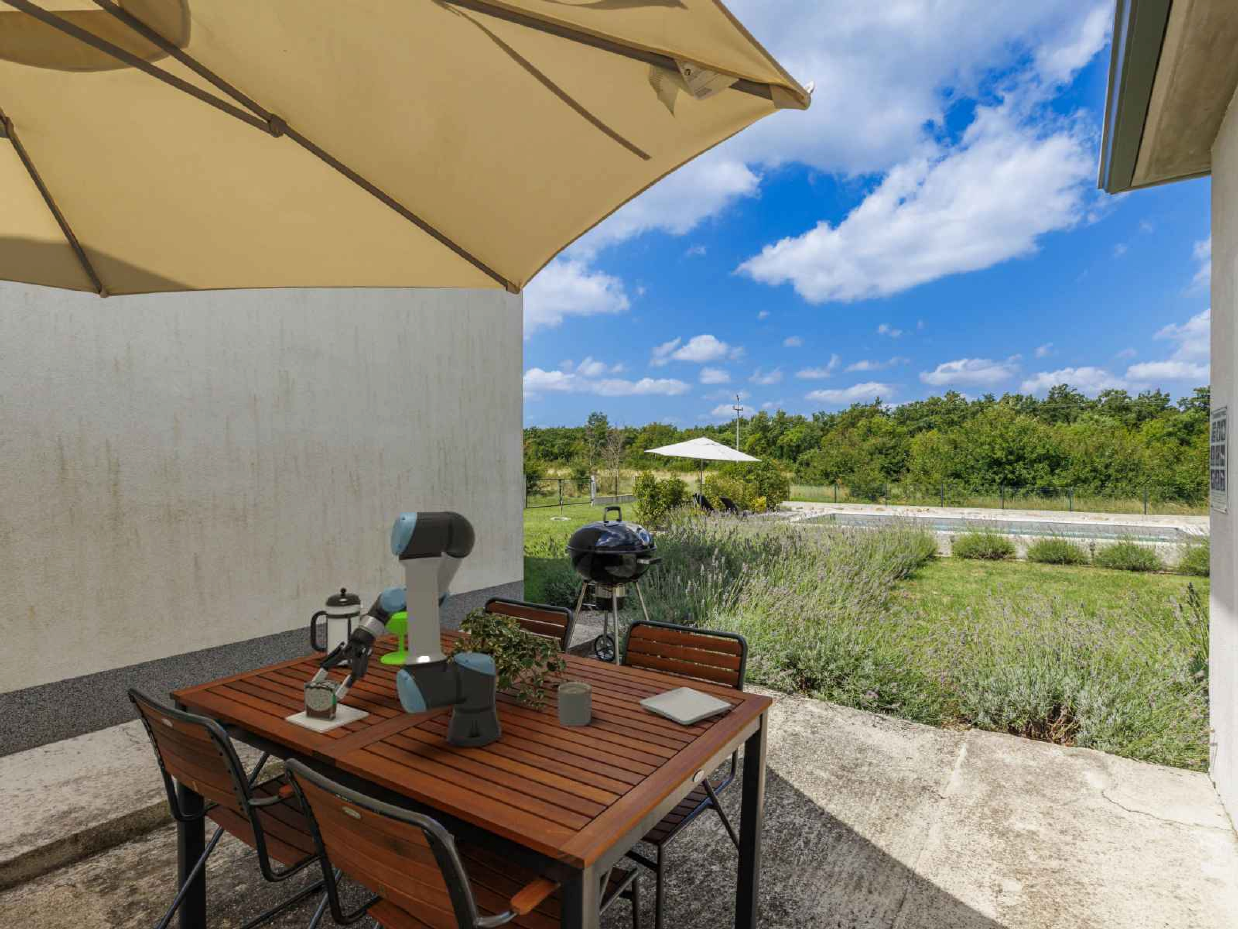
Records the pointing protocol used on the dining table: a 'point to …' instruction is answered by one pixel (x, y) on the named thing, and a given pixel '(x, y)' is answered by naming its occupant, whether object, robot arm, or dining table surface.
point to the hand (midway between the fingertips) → (324, 693)
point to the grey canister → (574, 704)
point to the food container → (321, 699)
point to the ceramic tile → (321, 725)
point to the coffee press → (338, 622)
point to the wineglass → (399, 627)
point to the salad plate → (685, 705)
